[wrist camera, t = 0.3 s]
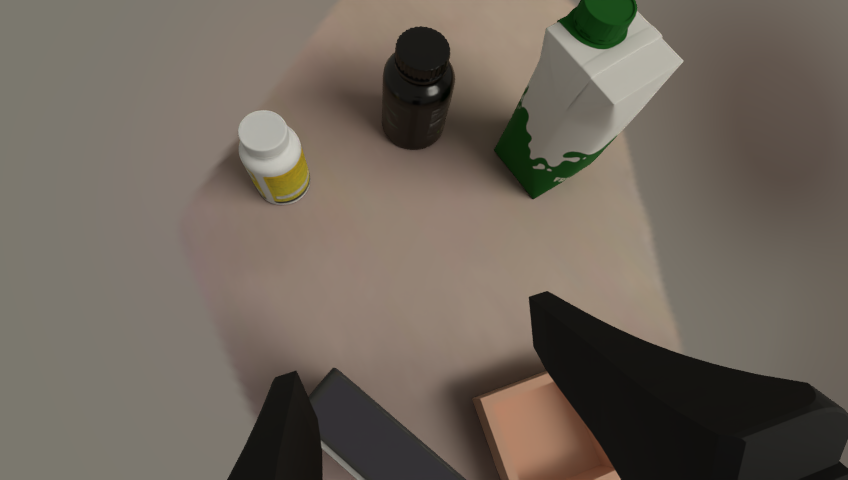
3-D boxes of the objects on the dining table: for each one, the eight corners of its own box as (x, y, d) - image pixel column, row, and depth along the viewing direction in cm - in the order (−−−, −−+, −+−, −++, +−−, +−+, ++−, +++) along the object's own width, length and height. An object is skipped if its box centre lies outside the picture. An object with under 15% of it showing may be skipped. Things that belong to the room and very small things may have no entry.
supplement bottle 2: (436, 95, 53) (453, 14, 41) (448, 148, 51) (469, 77, 39) (377, 101, 52) (378, 19, 40) (387, 155, 50) (390, 84, 38)
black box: (314, 415, 41) (282, 426, 27) (347, 375, 42) (333, 365, 28) (410, 500, 39) (431, 559, 25) (441, 456, 41) (476, 489, 27)
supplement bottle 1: (320, 170, 48) (307, 117, 39) (295, 214, 46) (276, 169, 37) (272, 151, 48) (249, 93, 39) (247, 194, 47) (215, 144, 37)
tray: (609, 469, 42) (629, 475, 38) (511, 511, 40) (524, 522, 37) (565, 363, 44) (580, 360, 41) (472, 398, 42) (480, 398, 39)
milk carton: (541, 113, 53) (631, -42, 35) (591, 172, 52) (716, 43, 33) (482, 148, 51) (544, 3, 32) (532, 211, 49) (630, 97, 30)
